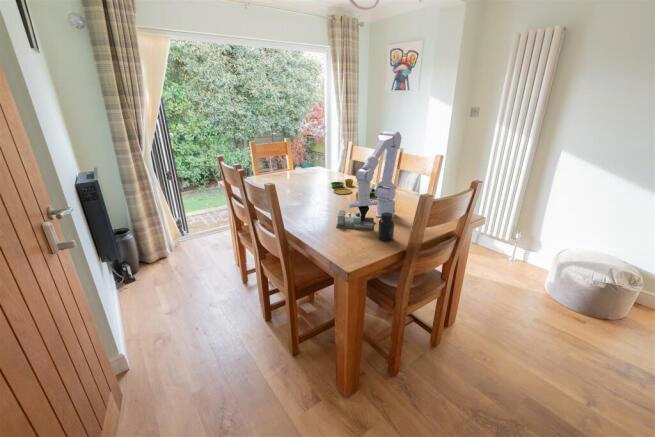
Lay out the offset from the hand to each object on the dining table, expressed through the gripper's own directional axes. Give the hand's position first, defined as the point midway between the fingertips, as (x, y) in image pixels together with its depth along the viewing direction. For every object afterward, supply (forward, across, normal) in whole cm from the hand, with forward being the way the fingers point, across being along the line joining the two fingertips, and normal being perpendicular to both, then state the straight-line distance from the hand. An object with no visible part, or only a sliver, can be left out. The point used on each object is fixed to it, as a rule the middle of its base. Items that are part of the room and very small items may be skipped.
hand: (362, 219), depth 147 cm
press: (+3, +3, -2) cm, 5 cm away
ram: (+2, +2, -1) cm, 3 cm away
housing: (+2, +6, -3) cm, 7 cm away
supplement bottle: (+3, -4, +17) cm, 18 cm away
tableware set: (+3, -17, -54) cm, 56 cm away
